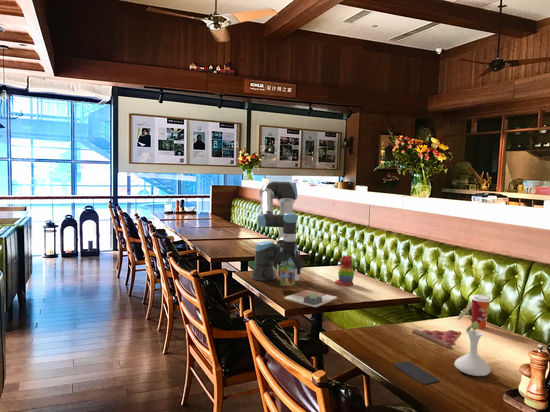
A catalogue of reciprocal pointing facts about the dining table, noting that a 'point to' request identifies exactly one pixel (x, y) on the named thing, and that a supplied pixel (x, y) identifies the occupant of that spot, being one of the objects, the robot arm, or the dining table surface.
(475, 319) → the paper cup
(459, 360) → the flower in vase
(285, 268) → the chalk box
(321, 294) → the picture board
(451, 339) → the pizza slice
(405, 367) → the phone
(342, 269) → the stacking bear
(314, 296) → the button
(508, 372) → the dining table surface
